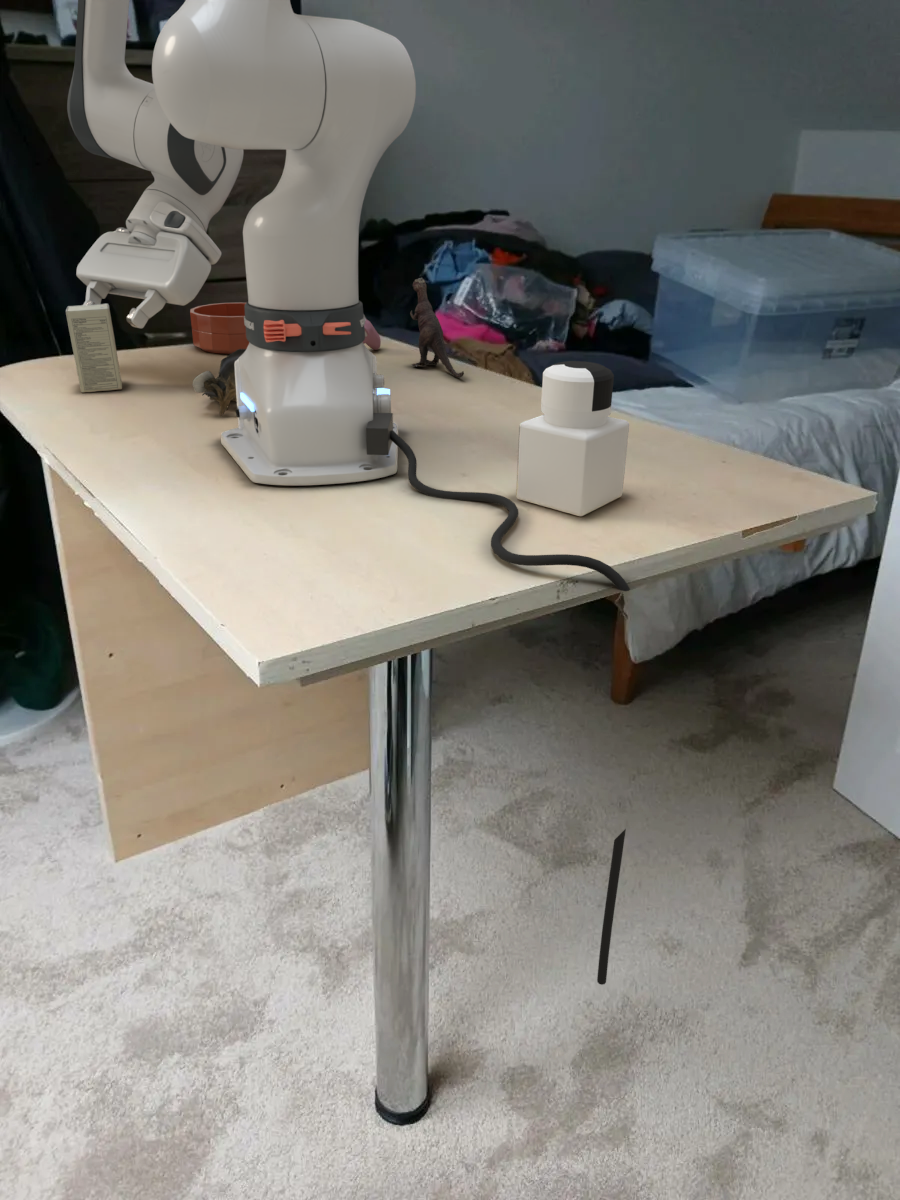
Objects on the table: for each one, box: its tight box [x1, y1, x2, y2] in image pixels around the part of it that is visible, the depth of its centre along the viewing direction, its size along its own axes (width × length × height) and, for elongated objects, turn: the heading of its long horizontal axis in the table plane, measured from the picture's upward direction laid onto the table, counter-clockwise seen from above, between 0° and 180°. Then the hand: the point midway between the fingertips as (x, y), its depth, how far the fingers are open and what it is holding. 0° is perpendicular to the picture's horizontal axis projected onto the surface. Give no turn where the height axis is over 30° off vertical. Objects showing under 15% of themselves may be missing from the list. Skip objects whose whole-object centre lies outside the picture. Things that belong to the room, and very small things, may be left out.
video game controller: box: [363, 317, 382, 351], centre depth 142 cm, size 10×5×7 cm, turn 73°
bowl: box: [189, 302, 249, 355], centre depth 144 cm, size 13×13×6 cm
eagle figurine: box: [192, 349, 246, 417], centre depth 111 cm, size 8×7×9 cm
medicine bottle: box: [515, 360, 630, 517], centre depth 83 cm, size 7×7×12 cm
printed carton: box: [65, 303, 123, 393], centre depth 118 cm, size 5×4×10 cm
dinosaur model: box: [409, 277, 465, 378], centre depth 129 cm, size 4×12×15 cm
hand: (109, 320), depth 119 cm, fingers open, 8 cm apart
